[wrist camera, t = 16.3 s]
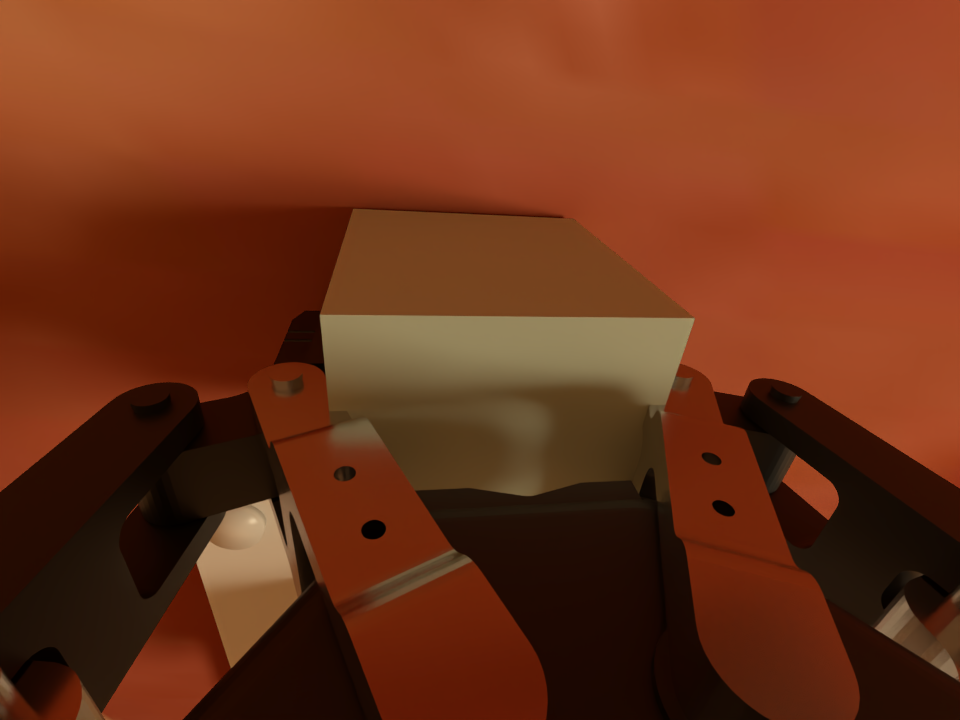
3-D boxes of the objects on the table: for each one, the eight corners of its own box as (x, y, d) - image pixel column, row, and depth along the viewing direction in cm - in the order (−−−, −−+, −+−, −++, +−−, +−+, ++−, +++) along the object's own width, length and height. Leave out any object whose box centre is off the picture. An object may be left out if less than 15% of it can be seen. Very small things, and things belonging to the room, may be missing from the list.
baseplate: (187, 458, 15) (166, 498, 13) (618, 444, 17) (638, 477, 16) (255, 693, 22) (246, 735, 20) (553, 660, 24) (562, 695, 23)
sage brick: (353, 208, 12) (320, 315, 6) (573, 218, 13) (695, 318, 7) (363, 398, 14) (344, 576, 9) (542, 395, 15) (615, 554, 10)
